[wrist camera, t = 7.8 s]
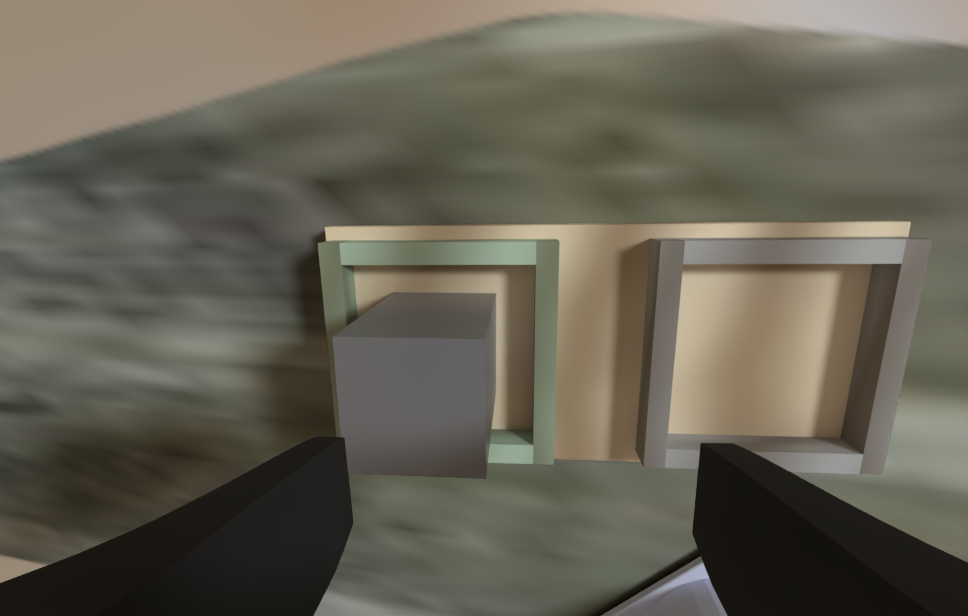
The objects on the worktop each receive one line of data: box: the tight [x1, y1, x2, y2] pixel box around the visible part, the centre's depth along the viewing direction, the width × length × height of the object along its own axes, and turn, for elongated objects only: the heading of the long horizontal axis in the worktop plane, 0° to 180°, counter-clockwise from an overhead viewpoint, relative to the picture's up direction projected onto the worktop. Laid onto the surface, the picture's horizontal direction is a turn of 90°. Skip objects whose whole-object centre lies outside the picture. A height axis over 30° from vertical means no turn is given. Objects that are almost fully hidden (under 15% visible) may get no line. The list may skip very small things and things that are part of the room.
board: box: [318, 221, 933, 475], centre depth 17 cm, size 21×10×2 cm, turn 91°
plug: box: [332, 292, 496, 479], centre depth 15 cm, size 4×4×6 cm
